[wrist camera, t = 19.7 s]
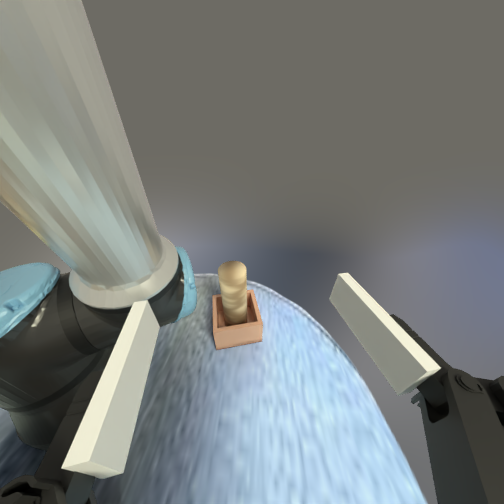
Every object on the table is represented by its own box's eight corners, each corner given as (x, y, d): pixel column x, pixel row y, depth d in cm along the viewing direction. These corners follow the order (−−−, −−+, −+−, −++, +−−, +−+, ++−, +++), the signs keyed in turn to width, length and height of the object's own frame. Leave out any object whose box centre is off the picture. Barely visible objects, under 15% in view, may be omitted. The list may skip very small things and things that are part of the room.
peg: (226, 335, 38) (218, 281, 29) (224, 316, 42) (217, 262, 33) (249, 330, 39) (248, 276, 30) (245, 312, 43) (243, 259, 34)
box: (216, 350, 37) (213, 332, 34) (215, 312, 45) (212, 295, 41) (261, 341, 38) (262, 324, 35) (253, 306, 46) (253, 289, 43)
